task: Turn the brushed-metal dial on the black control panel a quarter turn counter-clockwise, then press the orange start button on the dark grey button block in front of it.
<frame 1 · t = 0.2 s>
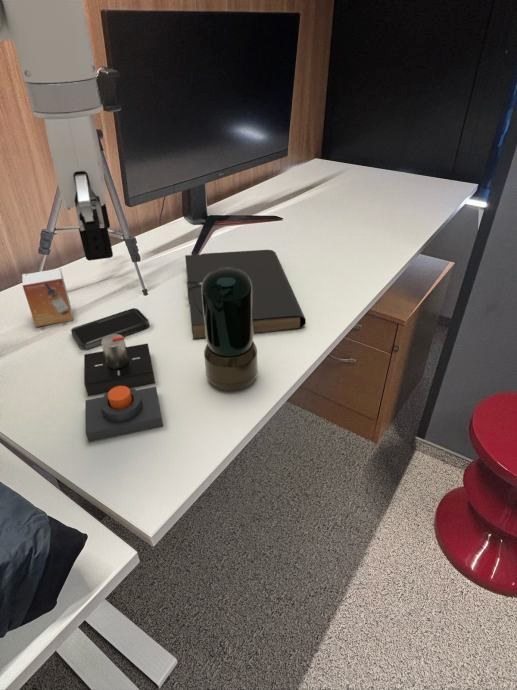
hand: (99, 242, 63), 32 cm above the table, tool pointing down, fingers open, 9 cm apart
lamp: (232, 378, 90), on the table
phone: (111, 330, 103), on the table
button block: (125, 417, 82), on the table
small box: (54, 318, 108), on the table
start button: (120, 397, 79), point 5 cm above the table, slide at 0.1 cm
dark brown book: (239, 296, 115), on the table
dial panel: (120, 374, 91), on the table
dial: (115, 350, 88), point 6 cm above the table, hinge at 0.0°
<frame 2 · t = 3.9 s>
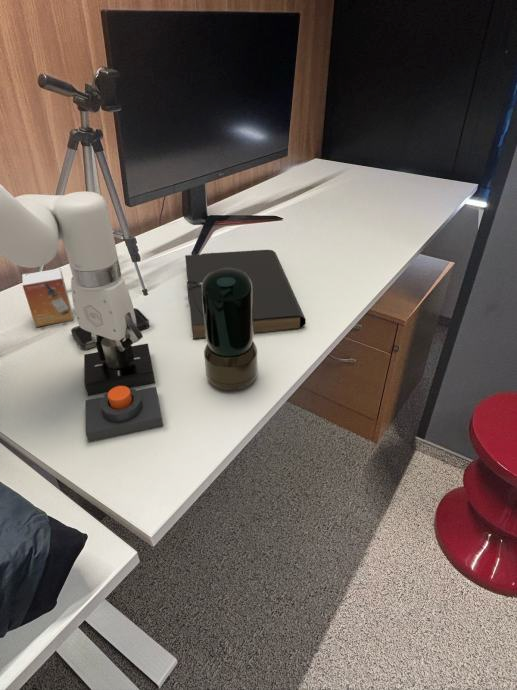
hand: (117, 359, 89), 4 cm above the table, tool pointing down, fingers closed on dial, 4 cm apart
dial: (115, 350, 88), point 6 cm above the table, hinge at -0.2°, touching gripper
everything else where it was.
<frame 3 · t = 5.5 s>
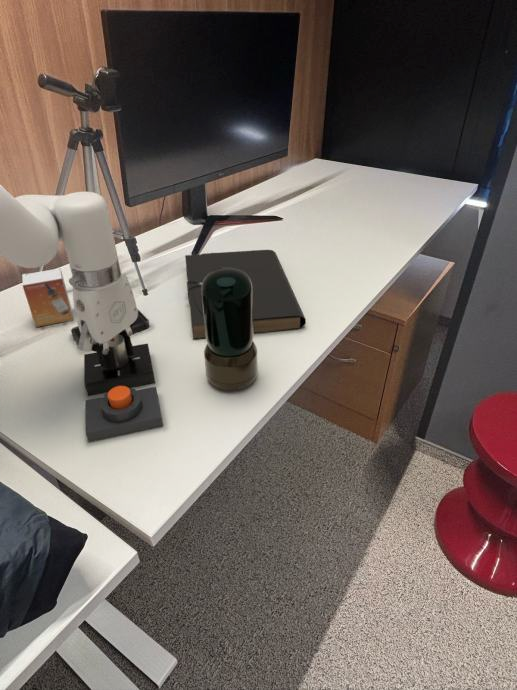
hand: (117, 359, 89), 4 cm above the table, tool pointing down, fingers closed on dial, 4 cm apart
dial: (115, 350, 88), point 6 cm above the table, hinge at 90.1°, touching gripper
everything else where it was.
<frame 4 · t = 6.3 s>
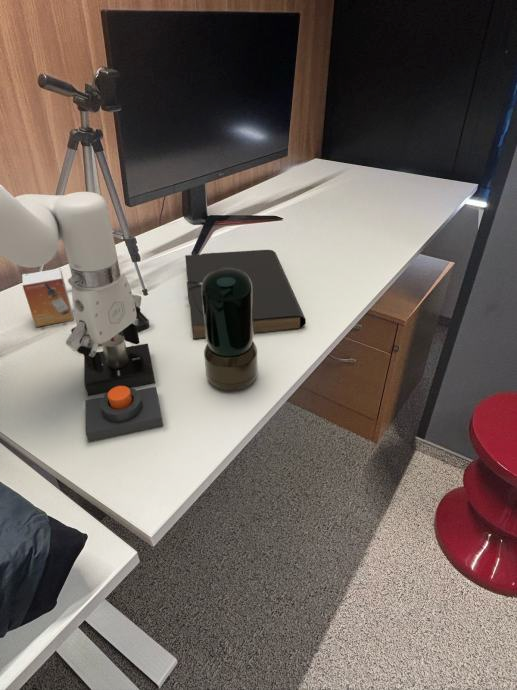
hand: (114, 355, 88), 5 cm above the table, tool pointing down, fingers open, 9 cm apart
dial: (115, 350, 88), point 6 cm above the table, hinge at 90.9°
everything else where it was.
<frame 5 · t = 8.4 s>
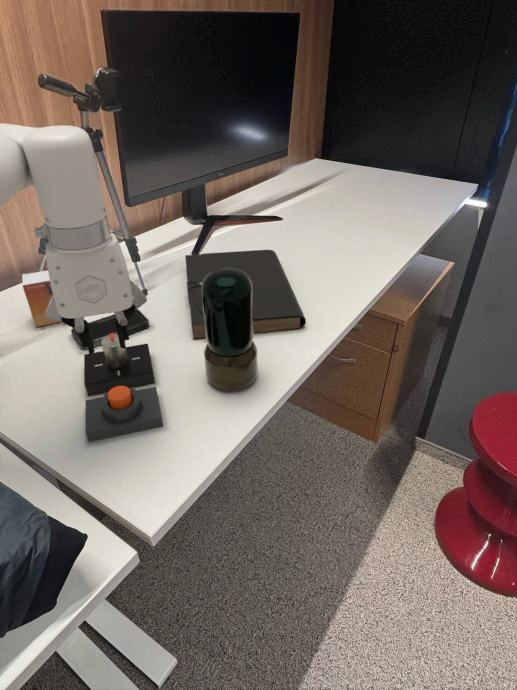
hand: (107, 345, 73), 15 cm above the table, tool pointing down, fingers open, 4 cm apart
nothing on the table moved.
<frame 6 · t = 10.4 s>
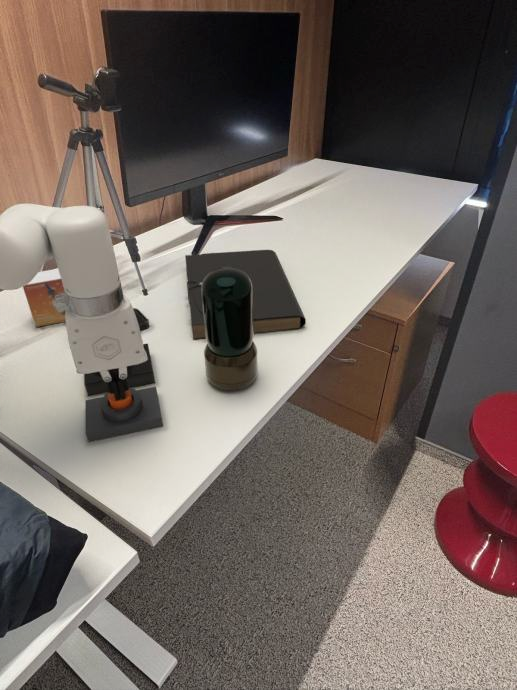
hand: (120, 394, 78), 5 cm above the table, tool pointing down, fingers closed
start button: (120, 398, 79), point 4 cm above the table, slide at -0.2 cm, touching gripper
everything else where it was.
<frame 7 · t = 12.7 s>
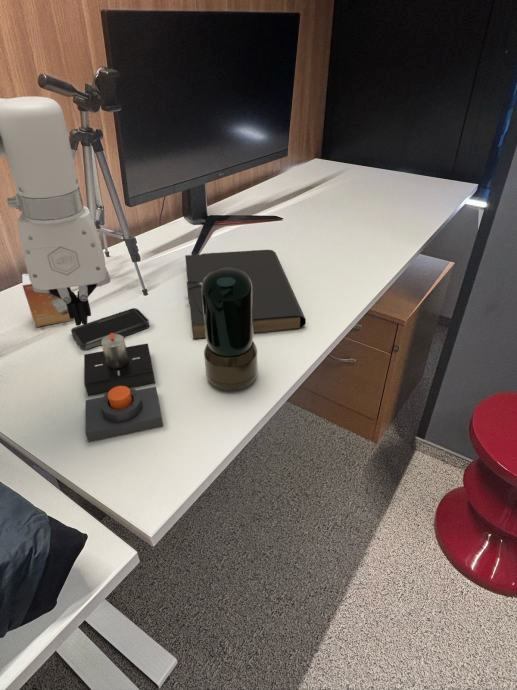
hand: (81, 320, 74), 18 cm above the table, tool pointing down, fingers closed
start button: (120, 397, 79), point 5 cm above the table, slide at 0.1 cm
everything else where it was.
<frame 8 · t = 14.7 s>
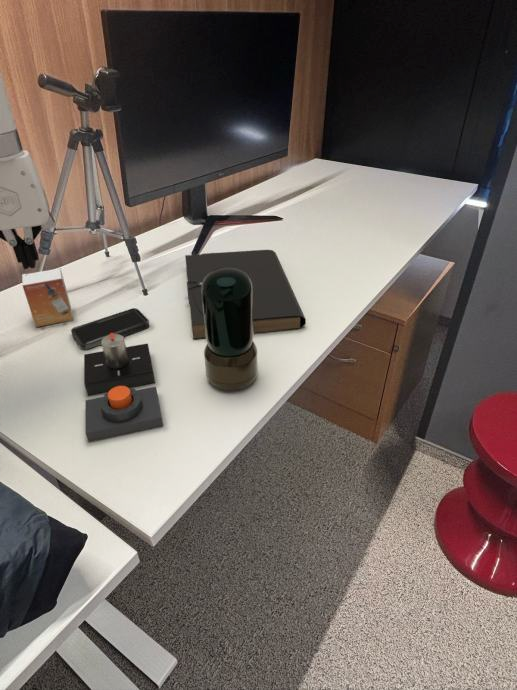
hand: (30, 264, 78), 23 cm above the table, tool pointing down, fingers closed
nothing on the table moved.
at the end: dial at +91° (first picture: +0°); start button pushed in 1.1 cm at the most during the clip, back to where it started at the end; start button slide at 0.1 cm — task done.
